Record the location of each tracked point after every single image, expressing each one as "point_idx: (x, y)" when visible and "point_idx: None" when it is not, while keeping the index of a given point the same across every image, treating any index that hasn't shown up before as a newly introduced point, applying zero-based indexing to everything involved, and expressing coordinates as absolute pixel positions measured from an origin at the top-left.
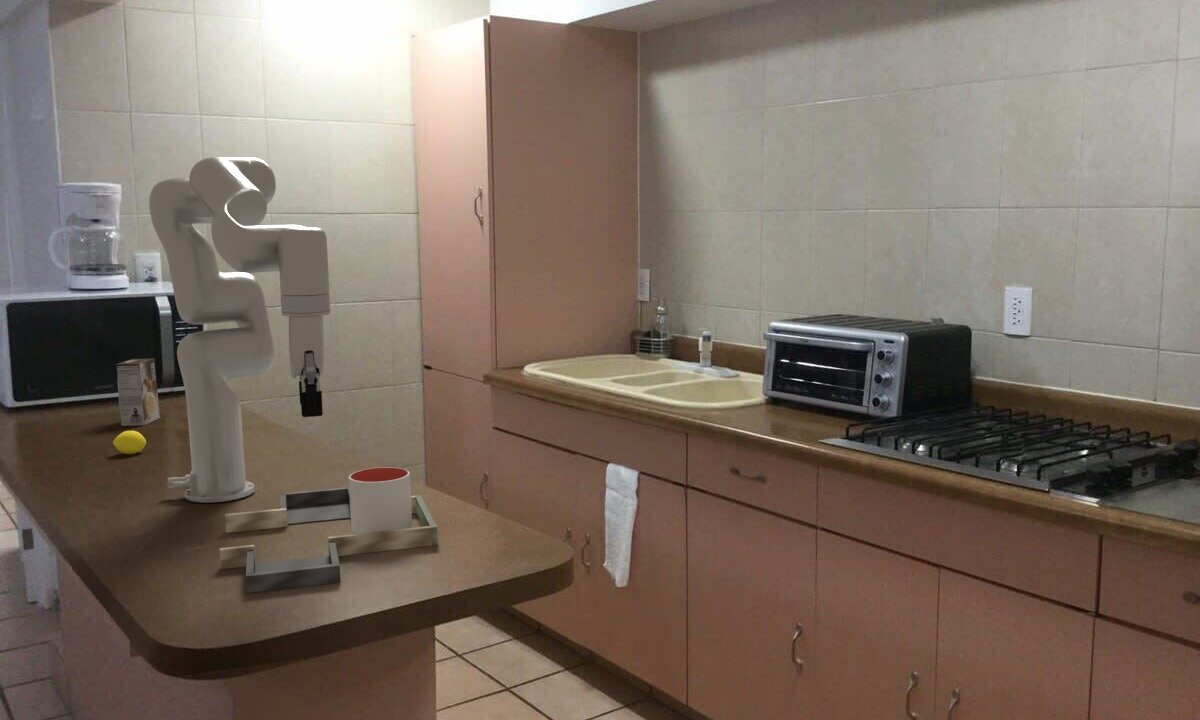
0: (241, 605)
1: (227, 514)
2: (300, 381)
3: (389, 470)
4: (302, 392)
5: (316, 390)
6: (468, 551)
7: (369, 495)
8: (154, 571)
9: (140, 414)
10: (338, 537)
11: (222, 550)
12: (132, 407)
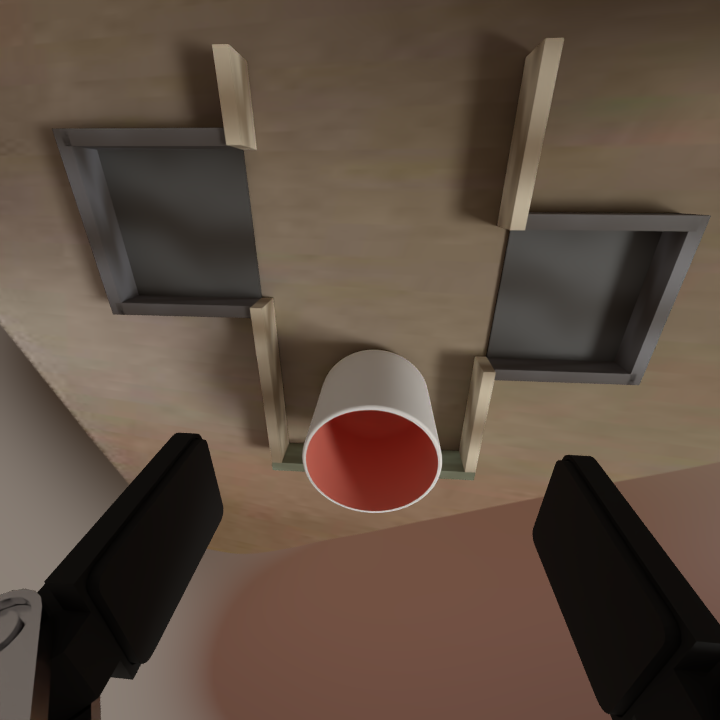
0: (19, 124)
1: (555, 47)
2: (697, 651)
3: (427, 483)
4: (7, 594)
5: (573, 618)
6: (243, 475)
7: (312, 419)
8: None
9: None
10: (252, 326)
11: (214, 54)
12: None
